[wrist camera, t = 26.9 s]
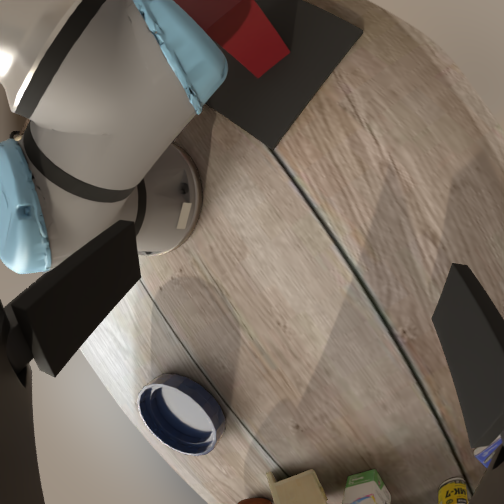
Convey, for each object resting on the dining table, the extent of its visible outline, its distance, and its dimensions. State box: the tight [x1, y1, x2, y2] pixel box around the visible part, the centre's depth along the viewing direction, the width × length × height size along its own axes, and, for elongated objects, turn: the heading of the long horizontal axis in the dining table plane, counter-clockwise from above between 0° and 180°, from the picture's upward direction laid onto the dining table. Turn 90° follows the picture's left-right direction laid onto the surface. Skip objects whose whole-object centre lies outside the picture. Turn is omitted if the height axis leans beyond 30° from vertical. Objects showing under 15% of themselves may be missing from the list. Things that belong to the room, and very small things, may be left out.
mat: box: [205, 0, 363, 150], centre depth 33 cm, size 18×18×1 cm
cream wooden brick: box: [266, 469, 328, 504], centre depth 37 cm, size 8×7×13 cm
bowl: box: [137, 374, 226, 456], centre depth 44 cm, size 14×14×4 cm
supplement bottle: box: [438, 478, 468, 504], centre depth 29 cm, size 5×5×8 cm
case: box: [173, 0, 290, 78], centre depth 26 cm, size 5×7×13 cm
